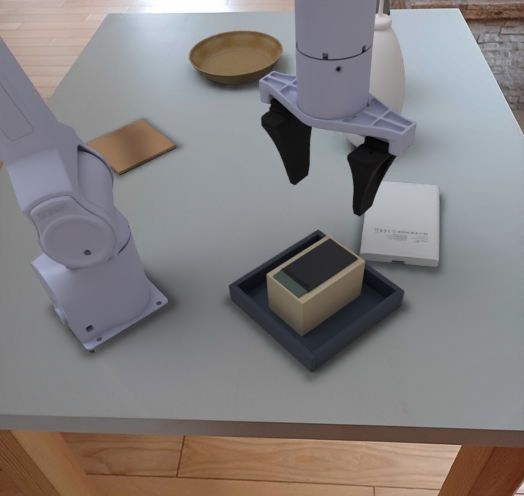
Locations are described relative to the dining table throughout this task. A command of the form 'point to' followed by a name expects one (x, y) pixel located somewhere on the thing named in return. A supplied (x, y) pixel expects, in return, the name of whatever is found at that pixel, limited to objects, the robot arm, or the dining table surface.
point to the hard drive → (402, 225)
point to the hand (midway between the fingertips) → (329, 193)
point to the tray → (329, 331)
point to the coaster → (131, 146)
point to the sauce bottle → (385, 68)
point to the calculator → (315, 284)
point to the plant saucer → (236, 56)
